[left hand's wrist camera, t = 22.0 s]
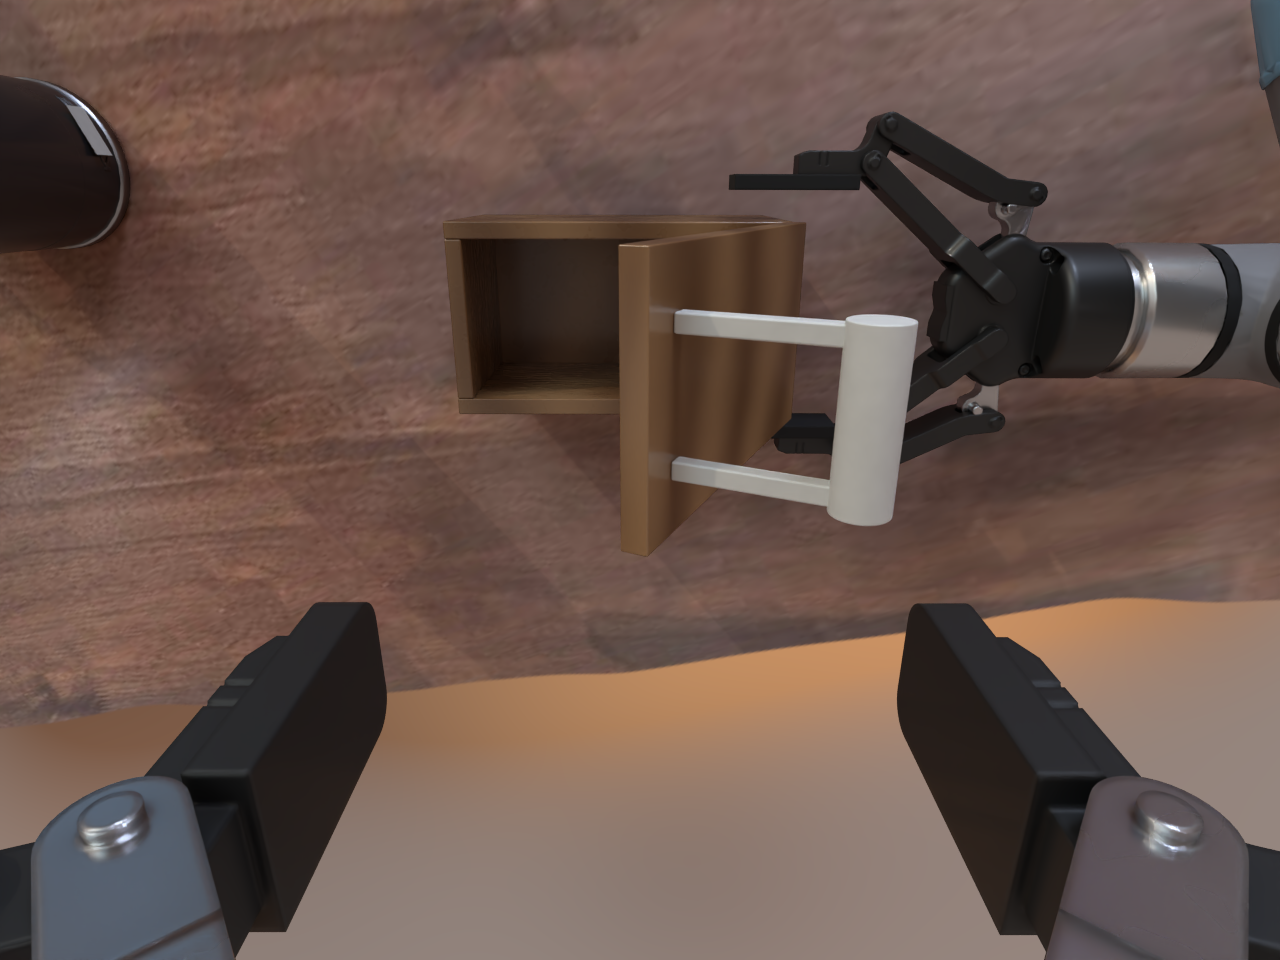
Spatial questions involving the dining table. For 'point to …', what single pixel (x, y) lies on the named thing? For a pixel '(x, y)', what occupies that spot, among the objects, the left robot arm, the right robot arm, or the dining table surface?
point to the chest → (547, 306)
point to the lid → (744, 381)
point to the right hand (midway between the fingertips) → (725, 310)
